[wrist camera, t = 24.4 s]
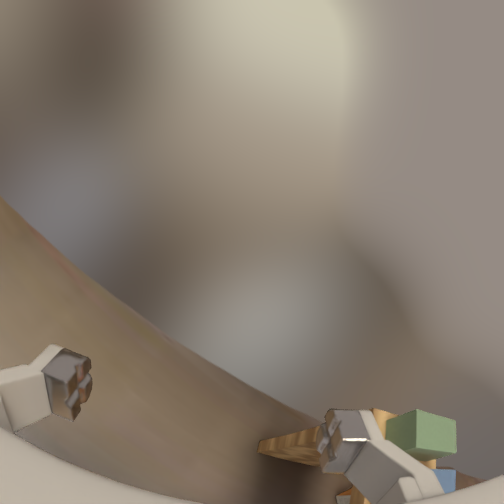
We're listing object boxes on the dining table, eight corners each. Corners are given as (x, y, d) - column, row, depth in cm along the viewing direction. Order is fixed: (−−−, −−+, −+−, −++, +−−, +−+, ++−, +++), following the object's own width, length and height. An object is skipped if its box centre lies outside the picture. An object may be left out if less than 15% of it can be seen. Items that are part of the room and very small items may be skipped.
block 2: (377, 511, 19) (411, 508, 16) (382, 474, 22) (415, 467, 19) (423, 508, 20) (454, 503, 18) (426, 477, 23) (456, 469, 21)
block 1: (383, 455, 23) (416, 447, 21) (386, 420, 26) (416, 408, 24) (427, 461, 25) (456, 453, 22) (428, 430, 28) (455, 420, 25)
